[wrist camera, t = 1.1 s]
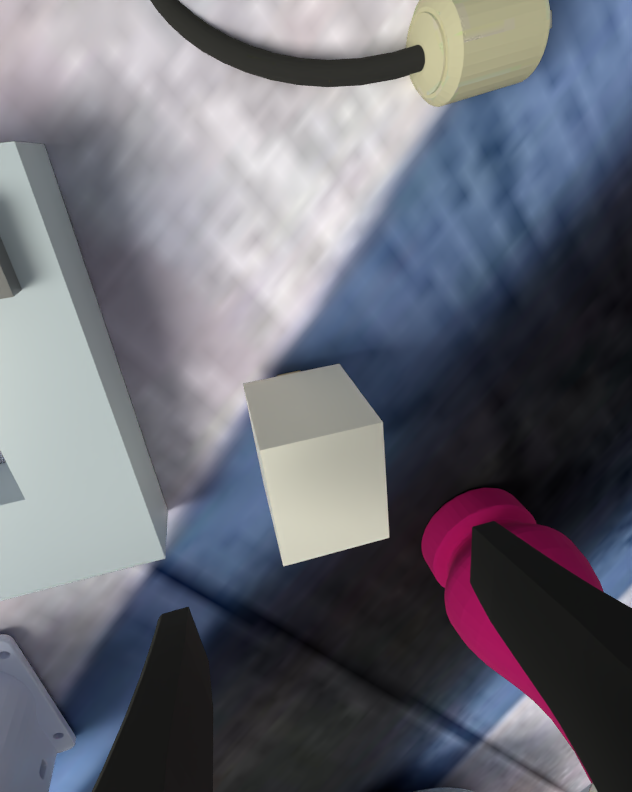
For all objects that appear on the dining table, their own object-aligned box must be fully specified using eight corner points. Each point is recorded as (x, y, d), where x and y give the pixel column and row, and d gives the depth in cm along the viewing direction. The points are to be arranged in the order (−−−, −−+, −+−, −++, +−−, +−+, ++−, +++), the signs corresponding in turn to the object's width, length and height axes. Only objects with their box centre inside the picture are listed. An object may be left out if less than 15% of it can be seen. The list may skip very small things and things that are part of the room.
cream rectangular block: (342, 450, 23) (389, 537, 18) (260, 470, 22) (283, 566, 17) (332, 354, 21) (382, 422, 15) (240, 373, 20) (259, 450, 15)
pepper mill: (395, 519, 26) (834, 1279, 8) (513, 456, 26) (1196, 1079, 8) (432, 595, 29) (795, 1238, 12) (537, 540, 29) (1049, 1099, 12)
